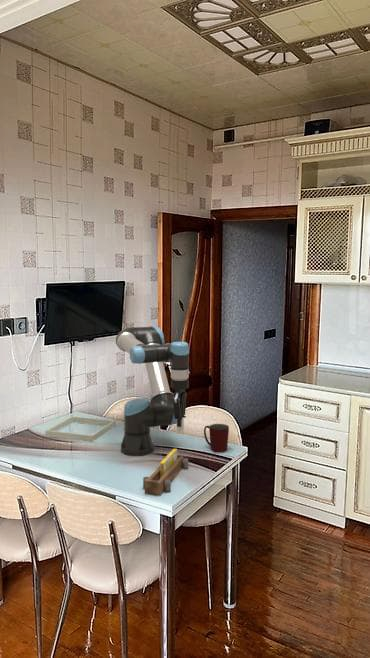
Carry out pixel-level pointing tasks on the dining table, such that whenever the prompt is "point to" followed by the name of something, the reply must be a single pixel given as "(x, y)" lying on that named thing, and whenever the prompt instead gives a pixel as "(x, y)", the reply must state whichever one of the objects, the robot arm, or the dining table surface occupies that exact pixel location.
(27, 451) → the dining table surface
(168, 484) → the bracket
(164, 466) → the candy box
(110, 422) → the tray rim
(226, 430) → the mug
